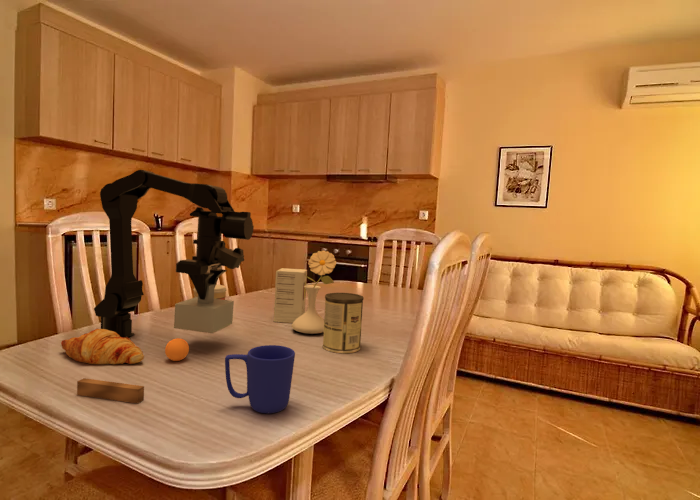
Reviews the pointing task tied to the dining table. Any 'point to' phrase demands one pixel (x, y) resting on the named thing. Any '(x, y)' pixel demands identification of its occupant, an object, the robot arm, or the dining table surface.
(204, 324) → the cover
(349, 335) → the coffee can
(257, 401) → the mug
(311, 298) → the flower in vase
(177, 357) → the ball
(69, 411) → the dining table surface
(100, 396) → the walnut strip
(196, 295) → the coffee cup
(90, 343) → the croissant
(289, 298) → the supplement box
